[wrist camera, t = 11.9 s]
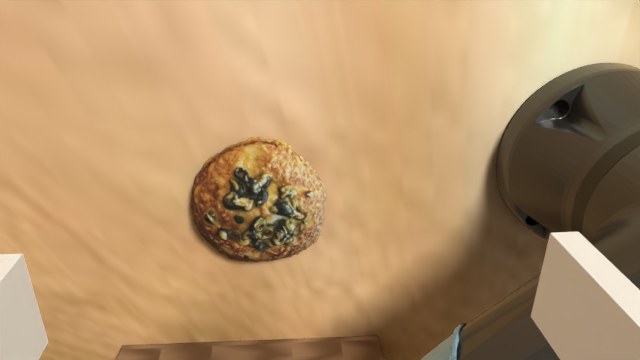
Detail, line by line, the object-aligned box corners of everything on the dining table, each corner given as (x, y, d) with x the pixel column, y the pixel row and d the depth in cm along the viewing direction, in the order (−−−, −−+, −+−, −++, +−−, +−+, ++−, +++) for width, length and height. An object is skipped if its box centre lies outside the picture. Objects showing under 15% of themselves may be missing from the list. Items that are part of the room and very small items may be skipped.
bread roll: (175, 236, 42) (169, 264, 38) (216, 112, 40) (215, 126, 35) (298, 268, 45) (306, 298, 41) (344, 156, 43) (359, 174, 38)
